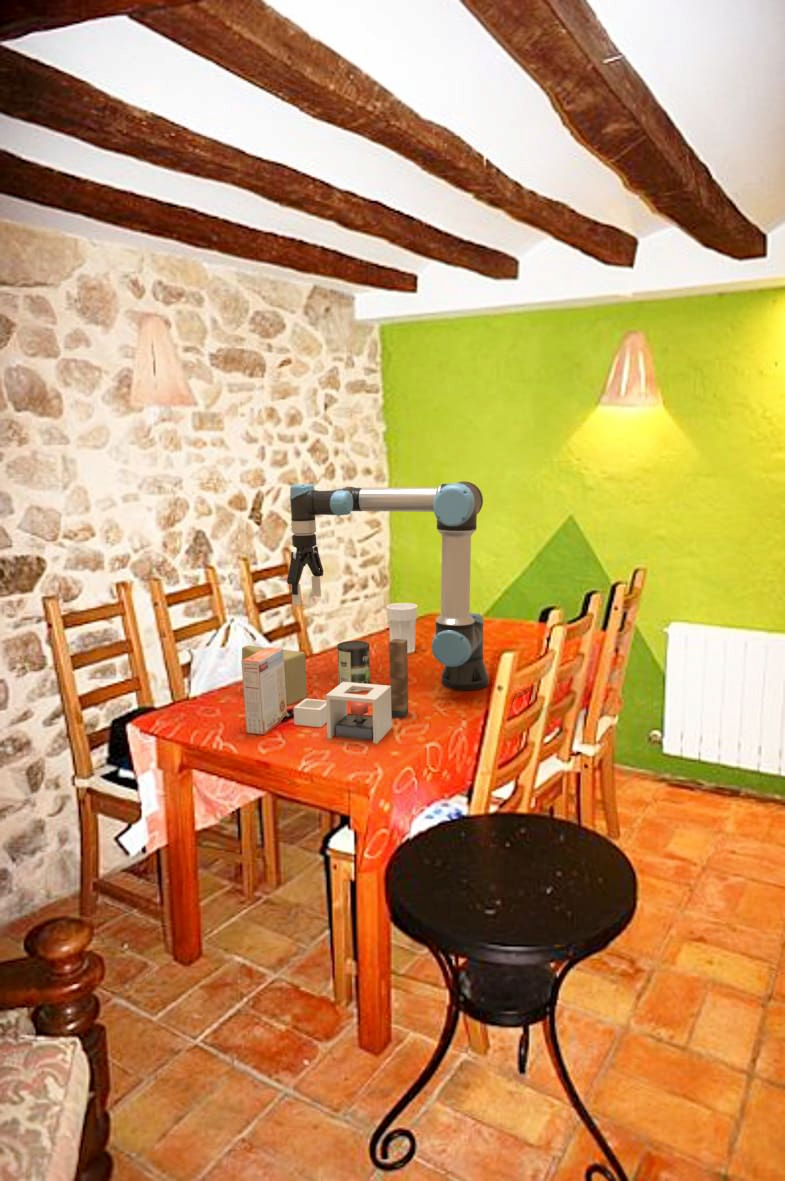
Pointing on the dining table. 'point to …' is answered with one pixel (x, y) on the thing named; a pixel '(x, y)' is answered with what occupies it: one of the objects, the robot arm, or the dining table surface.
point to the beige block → (288, 672)
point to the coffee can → (354, 662)
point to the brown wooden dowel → (398, 677)
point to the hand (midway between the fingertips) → (307, 600)
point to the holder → (310, 713)
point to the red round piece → (359, 710)
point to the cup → (403, 623)
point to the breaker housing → (355, 727)
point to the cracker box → (264, 690)
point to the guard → (376, 696)
